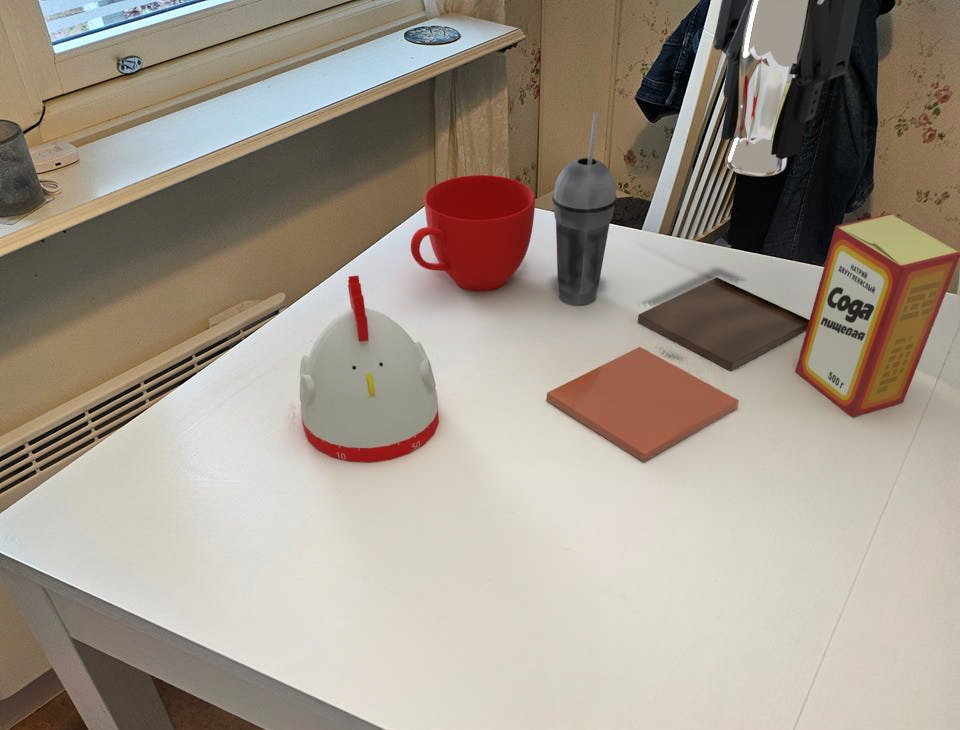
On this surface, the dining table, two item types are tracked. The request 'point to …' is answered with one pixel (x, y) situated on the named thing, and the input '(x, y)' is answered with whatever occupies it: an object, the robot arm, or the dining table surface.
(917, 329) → the baking soda box
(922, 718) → the dining table surface
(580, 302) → the beverage cup
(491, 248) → the ceramic cup
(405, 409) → the kitchen timer
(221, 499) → the dining table surface
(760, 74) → the beer glass
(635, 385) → the terracotta tile
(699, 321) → the walnut board
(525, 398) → the dining table surface
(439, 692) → the dining table surface
